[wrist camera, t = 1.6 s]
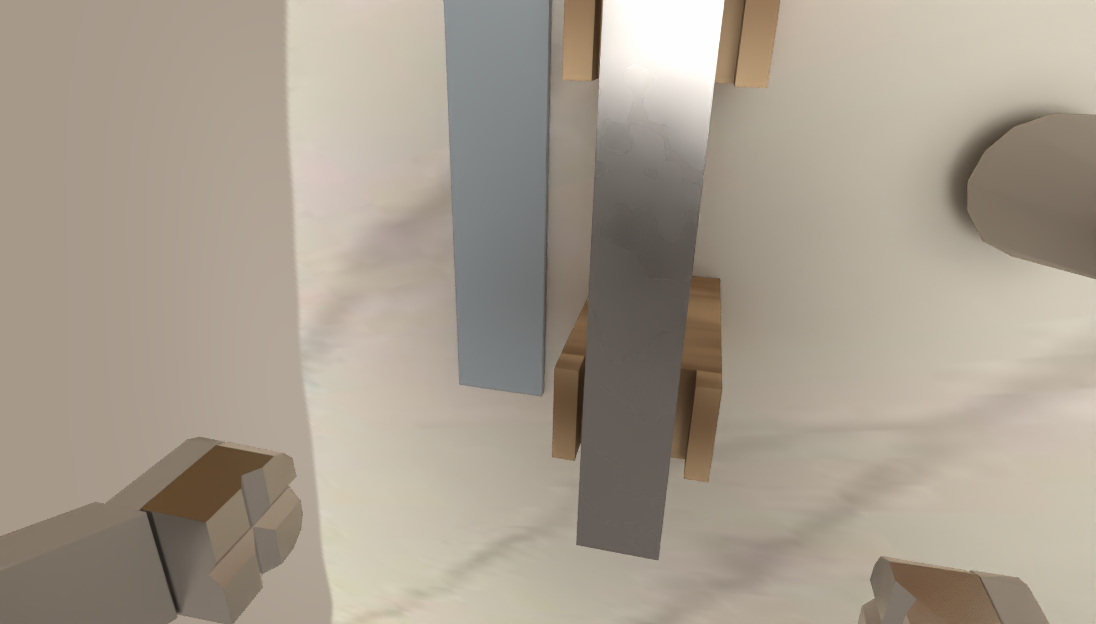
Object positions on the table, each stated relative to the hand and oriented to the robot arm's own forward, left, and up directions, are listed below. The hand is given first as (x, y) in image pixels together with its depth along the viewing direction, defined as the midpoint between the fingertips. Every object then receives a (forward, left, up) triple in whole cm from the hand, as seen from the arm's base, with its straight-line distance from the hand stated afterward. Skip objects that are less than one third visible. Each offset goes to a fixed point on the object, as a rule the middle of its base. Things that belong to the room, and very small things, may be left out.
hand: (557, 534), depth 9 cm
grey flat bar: (0, +8, -25) cm, 26 cm away
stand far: (-7, 0, -25) cm, 26 cm away
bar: (0, 0, -15) cm, 15 cm away
